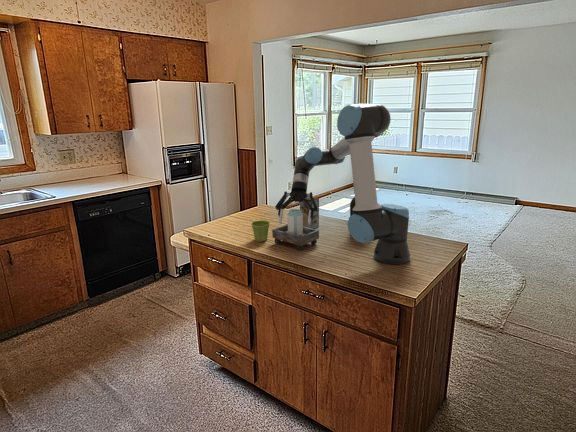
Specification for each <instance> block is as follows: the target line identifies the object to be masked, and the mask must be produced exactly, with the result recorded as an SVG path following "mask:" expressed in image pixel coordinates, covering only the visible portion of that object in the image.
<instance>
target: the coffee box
mask: <svg viewBox="0 0 576 432" xmlns="http://www.w3.org/2000/svg"><path fill="white" fill-rule="evenodd" d="M313 199H314V201H315V203H316V205H317V208H318V211H317V212H316V211H315V212H314V215H313V218H311V221H310V225H308V216H309V210H310V209H309V208H308V207H307V206H306V204H305V203H304V202H303V201H302V202H299V210H301V212H302V214H303V227H307V228H311V229H317V228H319V226H320V198H319V197H314V196H313ZM306 200H307V201H308V202H309V204H310V205H311V206H312V207H313V208H314V206H313V204H312V202H311V199H310V198H309V197H308V196H307V197H306Z"/></svg>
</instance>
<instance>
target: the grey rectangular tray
mask: <svg viewBox="0 0 576 432" xmlns="http://www.w3.org/2000/svg"><path fill="white" fill-rule="evenodd" d="M271 230H272V231H271V232H272V237H271V238H274V242H275V244H276V245H278V244H279V245H280V244H281V242H282V241H283V242H286V243H290V244H292V245H295V246H296V249H297V251H299V252H300V251H302V250H304V246H305V245H308V244H311V245H317V243H318V241H317V240H319V237H320V230H319V229H316V228H314V229H311V228H307V227H303V234H302V235H301V236H297V235H293V234H290V233H288V223H287V224H284V225H282V226H279V227H276V228H272V229H271Z"/></svg>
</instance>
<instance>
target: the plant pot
mask: <svg viewBox="0 0 576 432" xmlns="http://www.w3.org/2000/svg"><path fill="white" fill-rule="evenodd" d="M270 225H271V222H270V221H268V220H262V219H260V220H256V221H255V220H254V221H252V222H251V223H250V226H251V227H252V231H253V237H254V240H255V241H256V242H260V243H262V242H265V241H268V235H269V228H270Z"/></svg>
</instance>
